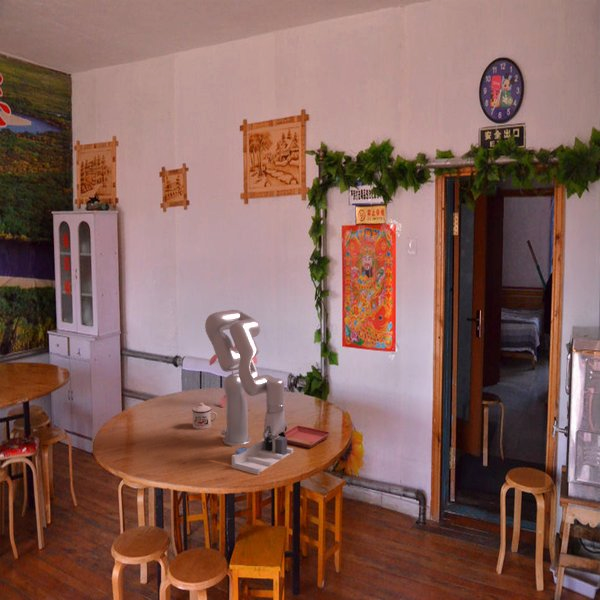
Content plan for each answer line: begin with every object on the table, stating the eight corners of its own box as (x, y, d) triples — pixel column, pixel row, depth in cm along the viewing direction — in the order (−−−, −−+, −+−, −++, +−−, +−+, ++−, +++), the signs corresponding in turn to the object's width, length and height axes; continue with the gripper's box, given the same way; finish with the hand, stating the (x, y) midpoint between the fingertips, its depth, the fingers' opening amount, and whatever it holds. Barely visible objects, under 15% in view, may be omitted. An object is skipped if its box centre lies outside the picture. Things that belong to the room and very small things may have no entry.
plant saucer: (311, 451, 258) (311, 444, 258) (276, 443, 268) (276, 436, 267) (330, 438, 274) (330, 432, 273) (297, 431, 283) (297, 425, 283)
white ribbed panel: (231, 467, 240) (231, 452, 240) (268, 446, 263) (268, 433, 262) (258, 474, 234) (257, 459, 233) (293, 452, 256) (293, 439, 255)
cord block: (264, 452, 255) (264, 436, 254) (269, 449, 259) (269, 433, 258) (281, 456, 250) (281, 440, 250) (286, 453, 254) (286, 437, 253)
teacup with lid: (191, 429, 285) (191, 406, 283) (193, 423, 294) (192, 400, 292) (216, 429, 286) (216, 405, 284) (217, 423, 295) (217, 400, 293)
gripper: (279, 401, 261) (279, 438, 263) (256, 411, 247) (256, 451, 249) (293, 404, 257) (293, 442, 260) (271, 414, 243) (271, 454, 245)
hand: (275, 446), depth 254 cm, fingers open, 9 cm apart
